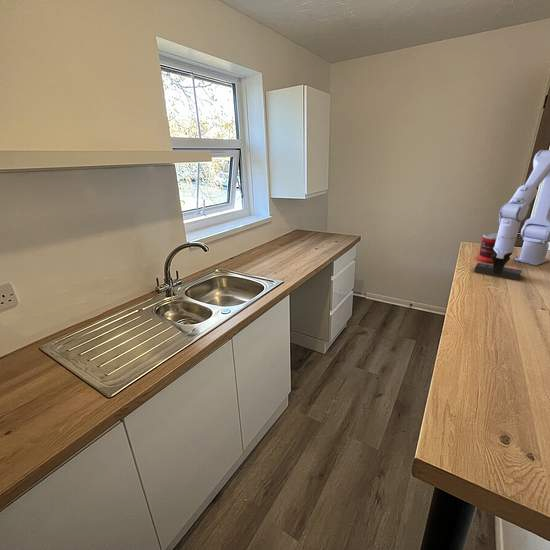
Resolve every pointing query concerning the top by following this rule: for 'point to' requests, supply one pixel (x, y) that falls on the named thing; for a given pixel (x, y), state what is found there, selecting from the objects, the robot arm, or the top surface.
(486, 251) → the canned food
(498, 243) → the robot arm
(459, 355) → the top surface
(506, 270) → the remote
